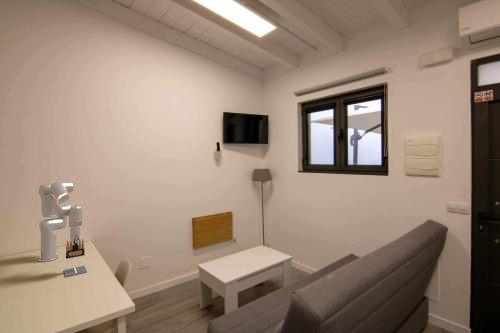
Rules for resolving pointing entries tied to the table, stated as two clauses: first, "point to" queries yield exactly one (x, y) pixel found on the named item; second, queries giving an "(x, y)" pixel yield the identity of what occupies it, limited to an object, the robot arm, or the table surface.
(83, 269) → the mat
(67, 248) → the ammunition clip
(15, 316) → the table surface
